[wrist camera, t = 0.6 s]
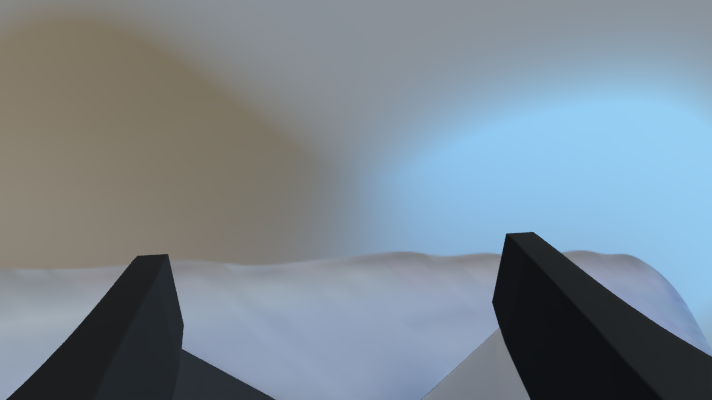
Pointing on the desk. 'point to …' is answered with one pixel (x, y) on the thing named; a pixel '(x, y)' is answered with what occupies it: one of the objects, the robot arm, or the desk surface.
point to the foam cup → (483, 376)
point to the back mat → (210, 383)
